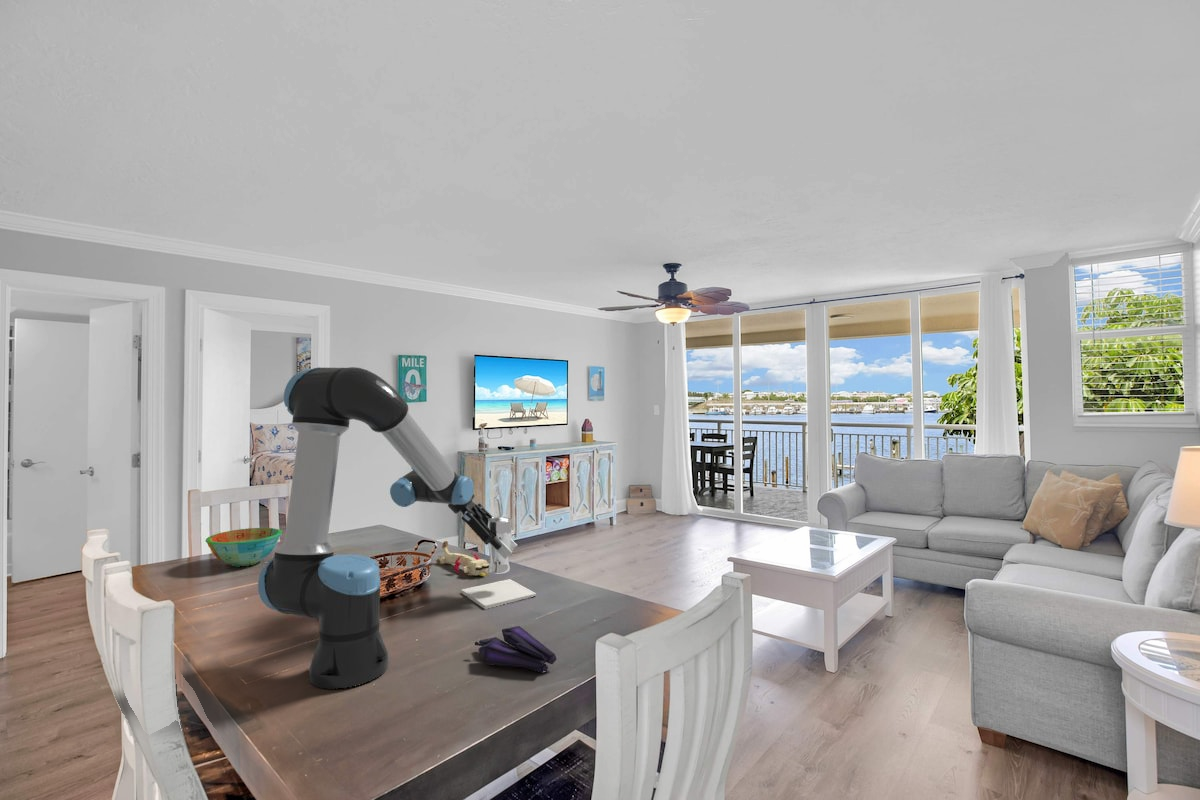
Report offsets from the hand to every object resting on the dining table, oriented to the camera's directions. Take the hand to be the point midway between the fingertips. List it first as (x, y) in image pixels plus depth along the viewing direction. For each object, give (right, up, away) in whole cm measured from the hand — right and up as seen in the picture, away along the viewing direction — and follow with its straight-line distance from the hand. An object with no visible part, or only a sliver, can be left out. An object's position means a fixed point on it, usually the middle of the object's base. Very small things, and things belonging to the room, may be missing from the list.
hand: (511, 552), depth 165 cm
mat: (-4, -12, 0) cm, 13 cm away
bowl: (-96, -12, +29) cm, 101 cm away
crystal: (+7, -13, -41) cm, 44 cm away
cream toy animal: (-20, -13, +24) cm, 34 cm away
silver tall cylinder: (-4, -6, 0) cm, 7 cm away
